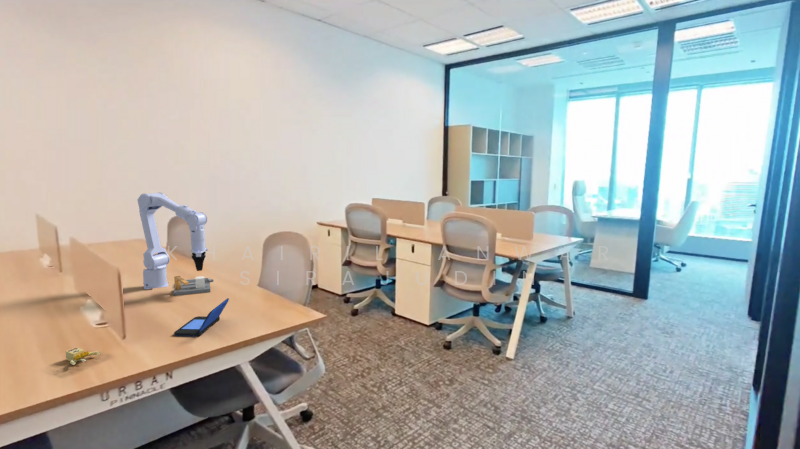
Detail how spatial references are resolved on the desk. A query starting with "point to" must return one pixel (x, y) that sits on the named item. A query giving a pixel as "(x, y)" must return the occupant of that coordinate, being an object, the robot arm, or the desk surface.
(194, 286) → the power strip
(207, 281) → the plug
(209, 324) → the handheld game console
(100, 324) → the desk surface
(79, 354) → the character toy
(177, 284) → the clip
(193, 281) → the tray
